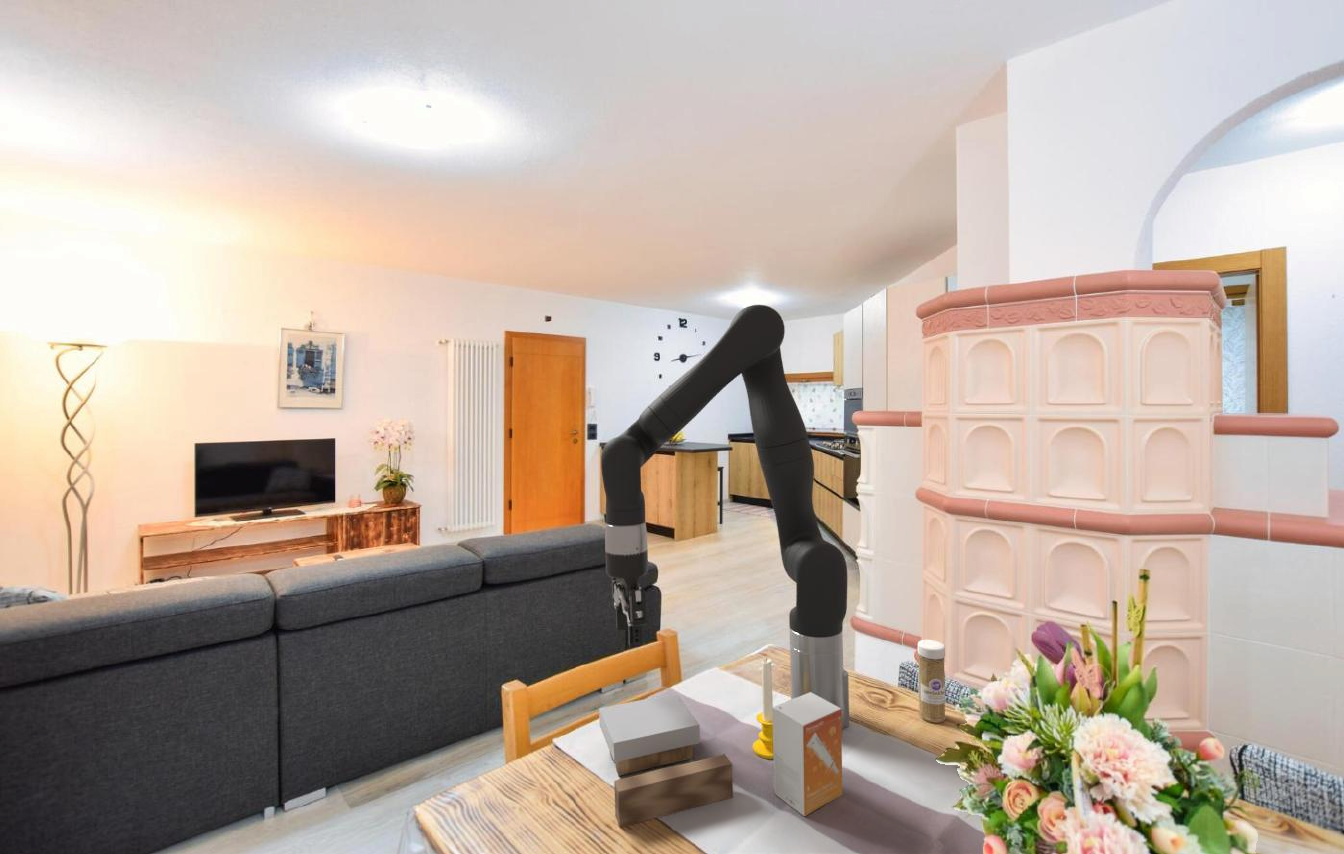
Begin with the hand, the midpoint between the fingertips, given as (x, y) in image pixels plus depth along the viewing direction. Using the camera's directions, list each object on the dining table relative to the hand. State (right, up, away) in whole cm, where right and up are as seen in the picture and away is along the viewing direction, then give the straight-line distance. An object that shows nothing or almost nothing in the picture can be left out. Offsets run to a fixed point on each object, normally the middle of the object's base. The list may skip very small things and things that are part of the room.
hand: (628, 637), depth 104 cm
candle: (+24, -16, -8) cm, 30 cm away
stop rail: (+8, -17, -21) cm, 28 cm away
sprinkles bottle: (+55, -15, +1) cm, 57 cm away
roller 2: (+6, -16, -16) cm, 24 cm away
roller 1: (+5, -17, -11) cm, 20 cm away
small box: (+28, -16, -19) cm, 37 cm away
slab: (+4, -13, -8) cm, 16 cm away
